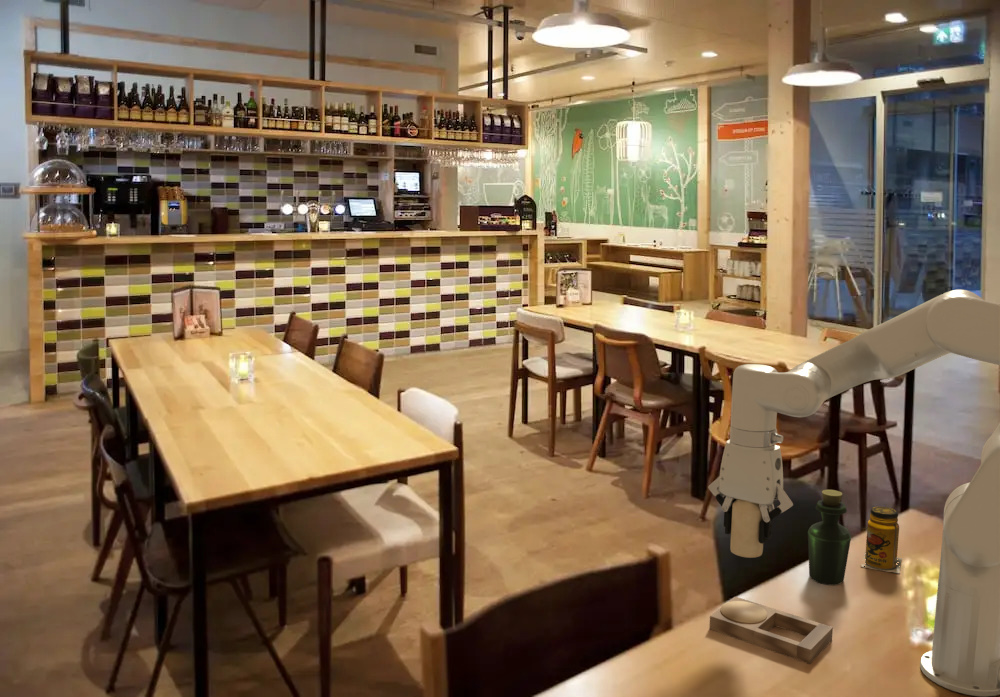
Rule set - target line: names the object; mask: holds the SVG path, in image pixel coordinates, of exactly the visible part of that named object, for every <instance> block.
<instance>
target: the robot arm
mask: <svg viewBox="0 0 1000 697" xmlns="http://www.w3.org/2000/svg"><path fill="white" fill-rule="evenodd" d="M950 353H952V354H954V355H957V356H961V357H965V358H969V359H972V360H976V361H979V362H982V363H983V362H984V363H988V364H992V365H993V364H994V365H998V366H1000V303H997V302H993V301H990V300H985V299H983V298H982V297H980V295H978V294H977V293H975V292H973V291H971V290H966V289H954V290H950V291H946V292H944V293H943V294H942V293H941V294H940V295H936V296H935V297H933V298H931V299H929V300H927V301H924V302H923V303H921V304H919V305H917V306H915V307H913V308H911V309H909V310H907V311H905V312H903V313H900V314H898V315H897V316H894V317H893V318H891V319H888V320H886V321H884V322H882V323H880V324H878V325H876V326H873V327H871V328H870V329H867V330H864V332H863V331H862V332H861V333H860V334H858V335H855V337H853V338H852V339H849V340H847V341H845V342H843V343H840V344H838V345H836V346H834V347H831V348H830V349H828V350H826V351H823V352H821V353H819V354H817V355H816V356H814V357H811V358H809V359H807V360H805V361H803V362H800V363H799V364H797V365H796V366H794V367H793V368H791V369H790V370H788V371H785V372H779V371H778V370H777V369H776V368H775V367H772V366H770V365H768V364H767V365H766V364H758V363H757V364H756V363H750V364H749V363H747V364H741V365H737V367H736V368H735V369H734V371H733V374H732V387H731V388H732V392H731V408H730V409H731V411H730V413H731V414H730V430H729V439H728V440H726V442H725V446H724V449H723V454H722V458H721V463H720V471H719V476H717V478H715V480H714V481H712V482H711V483H710V484H709V485H708V486H707V489H708V490H709V492H711V494H712V495H713V496H715V499H716V501H717V502H718V503H719V505H720V506H721V511H723V512H724V514H723V527H724V533H725V534H726V535H731V524H732V506H733V503H734V502H735V501H736V500H737V499H738V500H742V501H747V502H750V503H755V504H759V506H760V510H761V513H762V517H763V519H762V520H761V521H760V524H759V543H762V544H763V545H764V544H765V543H766V542H767V541H770V539H771V538H772V536H773V528H774V527H773V526H774V525H773V524H774V519H775V518H776V517H778V516H780V515H781V514H782V513H784V512H786V511H787V510H788V509H790V508H793V506H794V503H793V501H792V500H791V499H790V497H789V495H788V494H787V492H786V491H785V490H784V471H783V470H784V469H783V458H782V452H781V451H782V450H781V446H780V445H777V444H778V443H779V444H782V443H783V441H784V435H782V434H780V433H778V429H777V420H778V419H777V415H778V413H779V414H782V415H785V416H789V417H795V418H805V417H809V416H812V415H814V414H815V413H816V412H817V411H818V410H819V409H820V407H821V406H822V405H823V404H824V402H825V401H826V400H829V399H830V398H832V397H834V396H837V395H839V394H841V393H843V392H845V391H848V390H850V389H852V388H854V387H857V386H859V385H862V384H864V383H867V382H870V381H874V380H888V379H889V380H890V379H893V378H896V377H900V376H902V375H904V374H907V373H909V372H910V371H912V370H915V369H917V368H919V367H921V366H923V365H926V364H928V363H930V362H932V361H935V360H937V359H939V358H941V357H943V356H945V355H946V356H947V355H949V354H950ZM980 457H981V459H980V460H981V461H980V465H979V467H978V469H977V471H976V472H975V474H974V475H973V476H972V479H971V480H970V482H966V483H964V484H961V485H959V486H957V487H956V488H955V489H954V490H952V492H951V493H950V494H949V496H948V497H947V498H946V501H945V504H944V508H943V519H942V520H943V522H942V525H943V527H942V538H941V540H942V541H941V552H940V561H939V562H940V563H939V572H938V581H937V594H936V601H935V602H936V604H935V612H934V614H935V616H934V625H933V634H932V636H933V637H932V647H931V650H929V651H927V652H925V653H924V654H922V656H921V657H920V661H919V665H920V666H919V668H920V669H921V671H922V673H923V675H925V676H926V677H927V678H928V679H929V680H931V681H932V682H934V683H935V684H937V685H939V686H940V687H942V688H945V689H947V690H949V691H952V692H955V693H960V694H962V695H968V696H974V697H996V696H999V695H1000V422H999V423H998V425H997V426H996V428H995V429H994V431H993V432H992V434H991V435H990V436H989V438H988V439H987V440H986V441H985V443H984V445H983V447H982V450H981V456H980ZM774 501H779V503H780V504H779V505H777V506H776V507H775V505H774Z"/></svg>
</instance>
